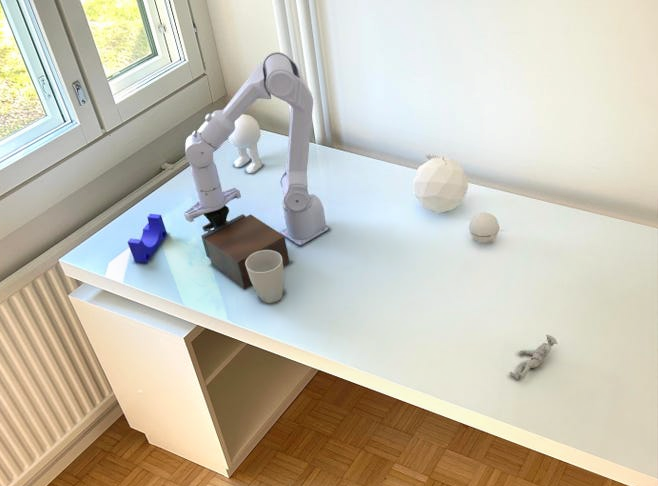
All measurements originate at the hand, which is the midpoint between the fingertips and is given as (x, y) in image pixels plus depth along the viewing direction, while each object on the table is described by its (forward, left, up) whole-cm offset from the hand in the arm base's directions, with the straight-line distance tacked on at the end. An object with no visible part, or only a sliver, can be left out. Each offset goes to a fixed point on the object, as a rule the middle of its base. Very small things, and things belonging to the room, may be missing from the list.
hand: (220, 233), depth 181 cm
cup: (+4, +25, -4) cm, 25 cm away
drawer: (0, +6, -3) cm, 6 cm away
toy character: (-28, -26, -4) cm, 38 cm away
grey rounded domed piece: (-46, +48, -4) cm, 66 cm away
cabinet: (0, +11, -4) cm, 12 cm away
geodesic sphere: (-49, +29, -4) cm, 57 cm away
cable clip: (+13, -13, -4) cm, 19 cm away
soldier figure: (-20, +82, -4) cm, 85 cm away
